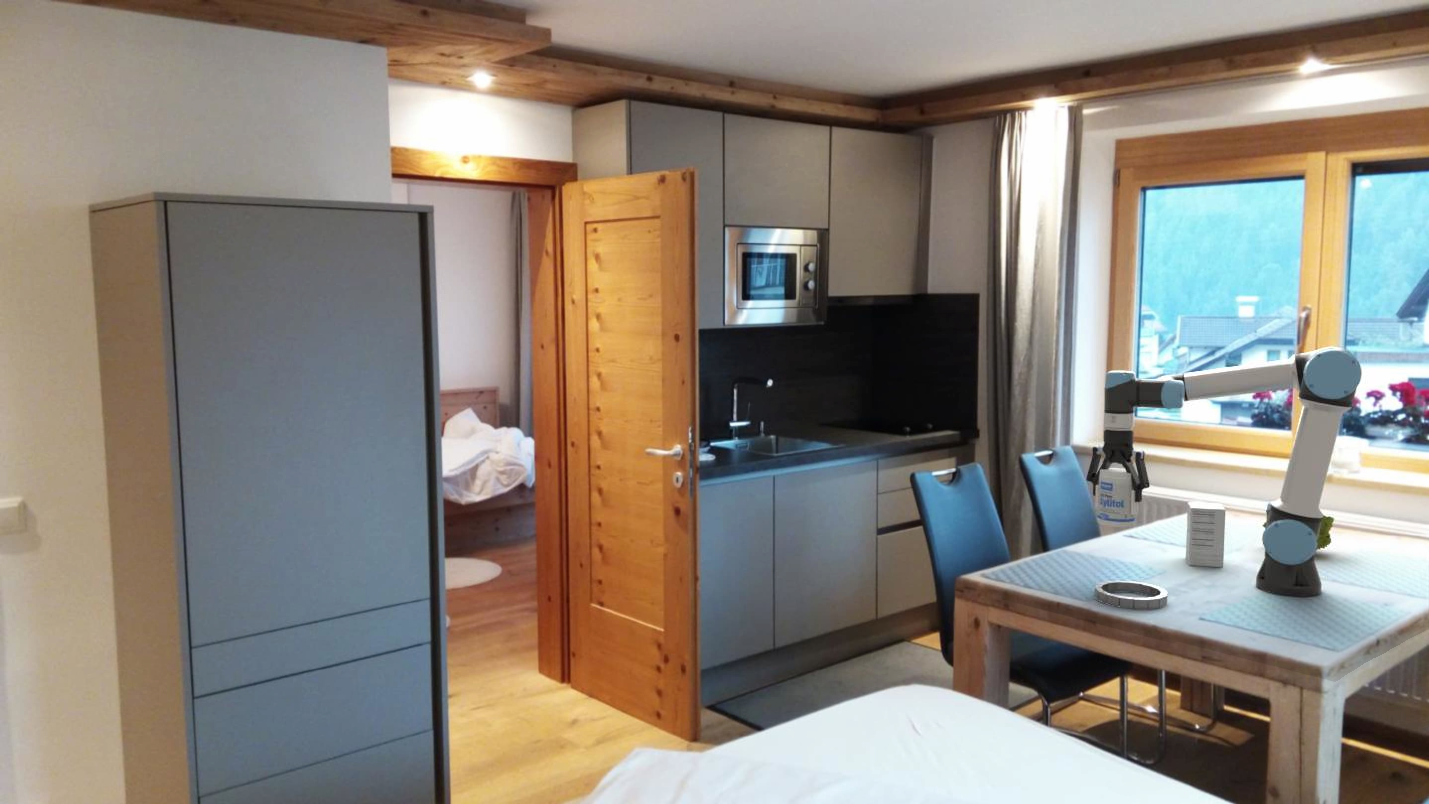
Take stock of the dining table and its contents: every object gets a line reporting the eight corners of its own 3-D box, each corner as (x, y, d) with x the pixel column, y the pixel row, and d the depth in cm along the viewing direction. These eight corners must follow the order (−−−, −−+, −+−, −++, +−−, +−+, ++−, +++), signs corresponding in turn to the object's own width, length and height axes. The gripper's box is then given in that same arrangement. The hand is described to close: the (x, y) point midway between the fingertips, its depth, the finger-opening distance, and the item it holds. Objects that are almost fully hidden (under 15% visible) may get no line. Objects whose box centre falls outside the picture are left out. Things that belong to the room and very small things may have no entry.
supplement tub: (1095, 526, 282) (1097, 472, 280) (1098, 519, 290) (1099, 466, 289) (1134, 529, 278) (1136, 474, 276) (1136, 522, 286) (1137, 468, 285)
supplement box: (1223, 568, 298) (1226, 509, 296) (1188, 565, 301) (1190, 507, 299) (1219, 560, 307) (1222, 503, 305) (1185, 557, 310) (1187, 501, 308)
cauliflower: (1328, 532, 321) (1347, 506, 307) (1314, 573, 314) (1333, 549, 301) (1266, 508, 327) (1282, 482, 314) (1251, 548, 321) (1267, 523, 308)
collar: (1179, 600, 267) (1179, 590, 267) (1145, 613, 256) (1145, 603, 256) (1117, 586, 280) (1117, 577, 280) (1082, 598, 269) (1082, 588, 269)
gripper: (1073, 426, 287) (1071, 506, 290) (1151, 433, 270) (1148, 519, 273) (1088, 423, 292) (1086, 503, 294) (1165, 431, 275) (1163, 515, 277)
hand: (1116, 510), depth 284 cm, fingers closed on supplement tub, 10 cm apart
